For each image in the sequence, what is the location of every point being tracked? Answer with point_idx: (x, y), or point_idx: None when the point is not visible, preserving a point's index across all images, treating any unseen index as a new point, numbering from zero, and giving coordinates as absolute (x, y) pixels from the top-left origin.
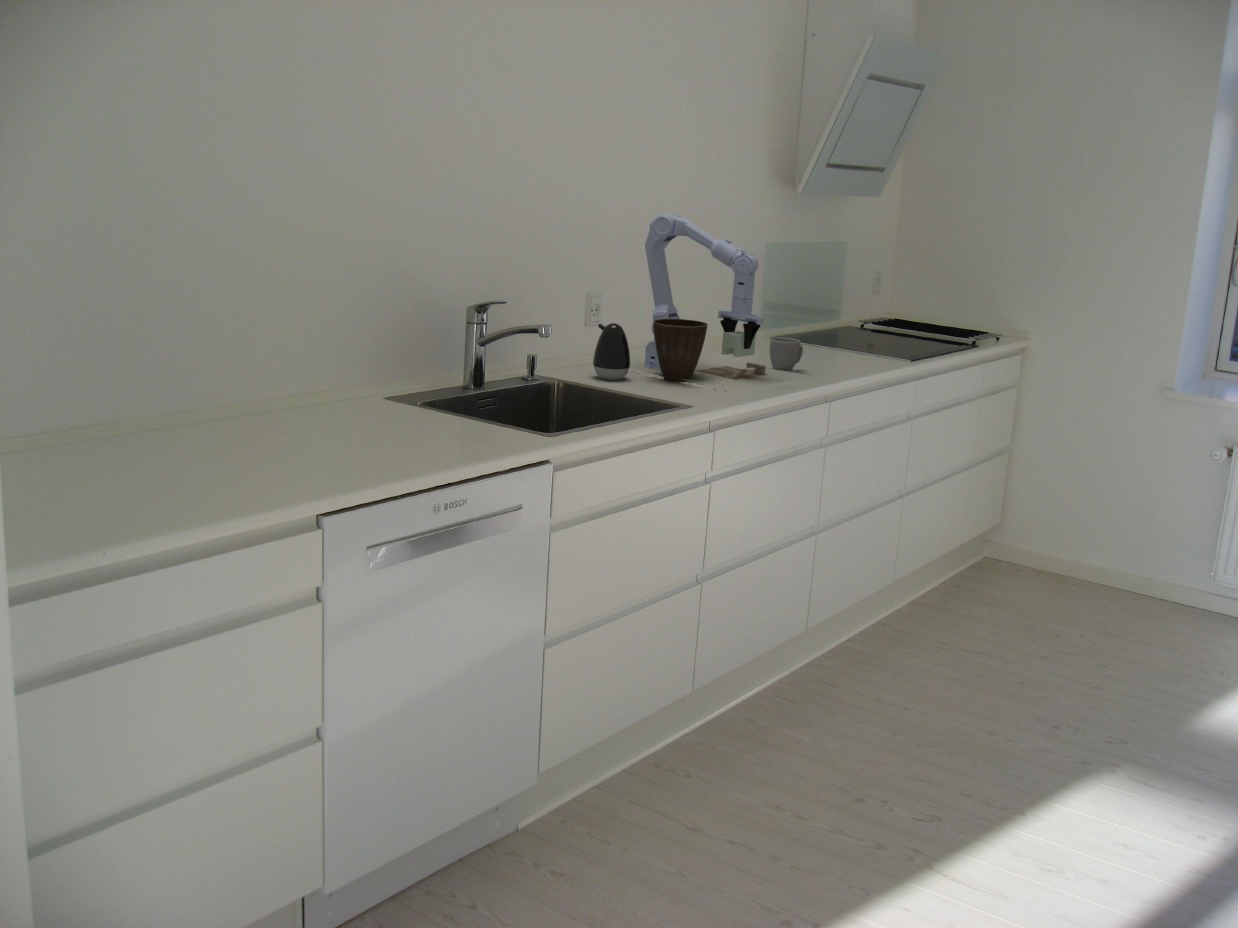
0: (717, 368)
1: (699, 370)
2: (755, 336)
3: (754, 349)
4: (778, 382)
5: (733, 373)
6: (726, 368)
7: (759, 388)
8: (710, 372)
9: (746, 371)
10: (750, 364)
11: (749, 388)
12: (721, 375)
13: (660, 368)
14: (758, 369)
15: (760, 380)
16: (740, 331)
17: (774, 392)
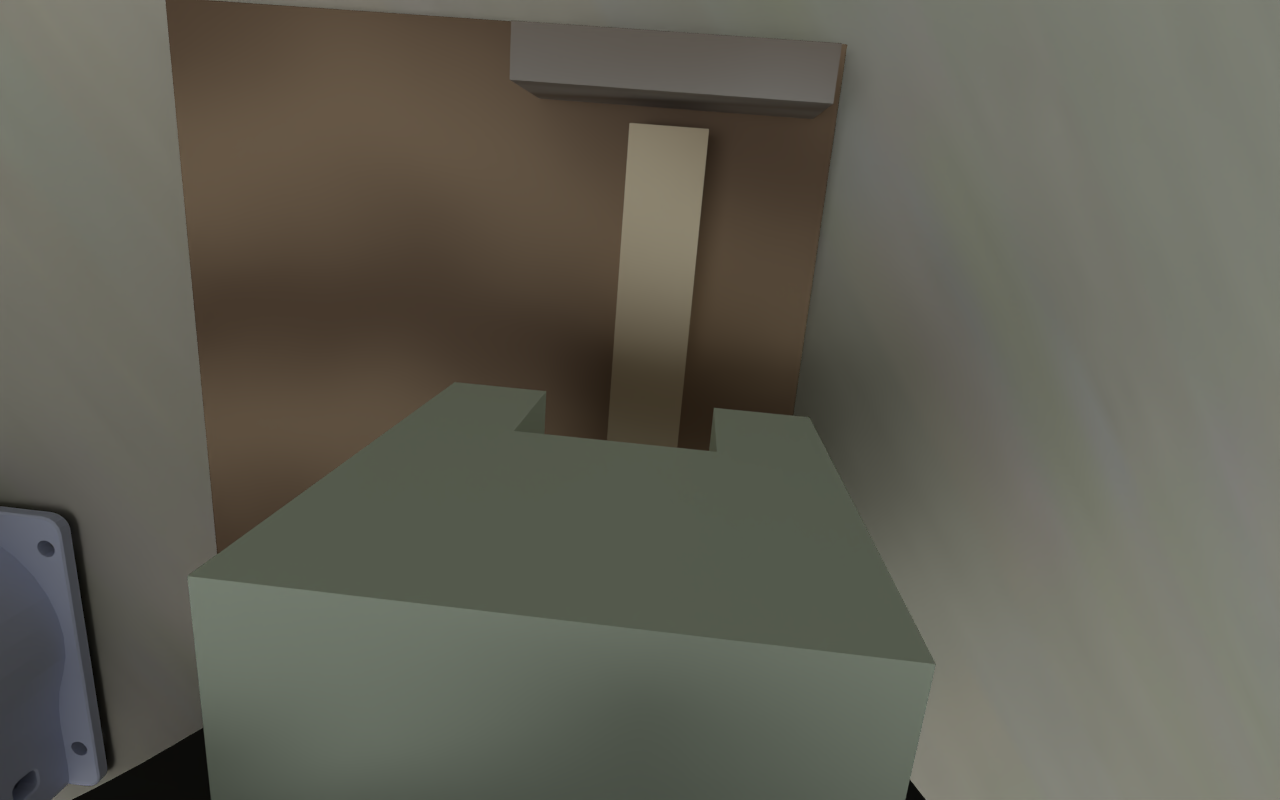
0: (239, 262)
1: (235, 539)
2: (899, 624)
3: (826, 459)
4: (1073, 193)
5: None
6: (286, 155)
7: (1048, 670)
8: None
9: (686, 351)
10: (582, 86)
11: (973, 740)
12: None
13: (46, 798)
14: (736, 107)
15: (853, 275)
16: (303, 716)
17: (1250, 724)
